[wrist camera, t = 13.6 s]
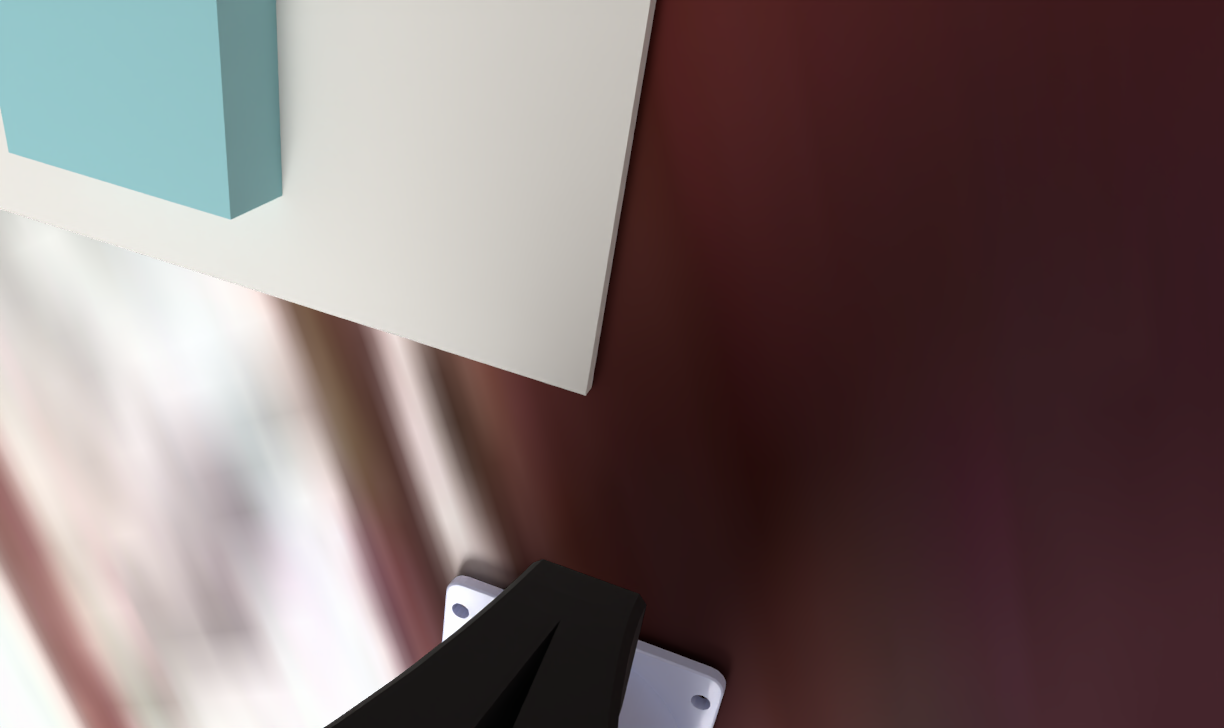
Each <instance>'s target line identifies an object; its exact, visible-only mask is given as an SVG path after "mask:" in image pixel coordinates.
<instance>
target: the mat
mask: <svg viewBox="0 0 1224 728" xmlns="http://www.w3.org/2000/svg"><path fill="white" fill-rule="evenodd" d="M655 5H656V0H276V20H277V49H278V79H279V108H280V138H281V168H282V196H281V197H278V198H276V199H274V200H272V201H270V202H268V203H266V204H263V205H261V206H259V207H257V208H255V209H253V210H251V211H248V212H246V213H244V214H242V215H240V216H238V217H236V218H233V219H231V220H230V219H226V218H223V217H220V216H217V215H213V214H210V213H207V212H203V211H200V210H197V209H193V208H190V207H187V206H184V205H180V204H177V203H174V202H170V201H167V200H164V199H160V198H157V197H154V196H151V195H147V194H144V193H141V192H137V191H134V190H131V189H127V188H124V187H121V186H117V185H114V184H111V183H108V182H104V181H101V180H98V179H94V178H91V177H88V176H84V175H81V174H78V173H75V172H71V171H68V170H65V169H61V168H58V167H55V166H51V165H48V164H45V163H42V162H38V161H35V160H32V159H28V158H25V157H22V156H18V155H15V154H12V153H9V151H8V146H7V140H6V135H5V130H4V125H3V119H2V114H1V109H0V209H1V210H5V211H8V212H11V213H14V214H17V215H20V216H23V217H27V218H30V219H33V220H36V221H39V222H42V223H45V224H49V225H52V226H55V227H58V228H61V229H64V230H67V231H70V232H74V233H77V234H80V235H83V236H86V237H89V238H92V239H96V240H99V241H102V242H105V243H108V244H111V245H114V246H118V247H121V248H124V249H127V250H130V251H133V252H136V253H139V254H143V255H146V256H149V257H152V258H155V259H158V260H161V261H165V262H168V263H171V264H174V265H177V266H180V267H183V268H187V269H190V270H193V271H196V272H199V273H202V274H205V275H209V276H212V277H215V278H218V279H221V280H224V281H227V282H230V283H234V284H237V285H240V286H243V287H246V288H249V289H252V290H256V291H259V292H262V293H265V294H268V295H271V296H274V297H278V298H281V299H284V300H287V301H290V302H293V303H296V304H299V305H303V306H306V307H309V308H312V309H315V310H318V311H321V312H325V313H328V314H331V315H334V316H337V317H340V318H343V319H347V320H350V321H353V322H356V323H359V324H362V325H365V326H369V327H372V328H375V329H378V330H381V331H384V332H387V333H390V334H394V335H397V336H400V337H403V338H406V339H409V340H412V341H416V342H419V343H422V344H425V345H428V346H431V347H434V348H438V349H441V350H444V351H447V352H450V353H453V354H456V355H459V356H463V357H466V358H469V359H472V360H475V361H478V362H481V363H485V364H488V365H491V366H494V367H497V368H500V369H503V370H507V371H510V372H513V373H516V374H519V375H522V376H525V377H528V378H532V379H535V380H538V381H541V382H544V383H547V384H550V385H554V386H557V387H560V388H563V389H566V390H569V391H572V392H576V393H579V394H582V395H585V396H586V395H587V393H588V392H589V390H590V389H591V388H592V382H593V376H594V370H595V364H596V358H597V352H598V346H599V340H600V334H601V328H602V322H603V316H604V310H605V304H606V298H607V292H608V286H609V280H610V274H611V268H612V262H613V256H614V250H615V244H616V238H617V232H618V226H619V220H620V214H621V208H622V202H623V196H624V190H625V184H626V178H627V173H628V167H629V161H630V155H631V149H632V143H633V137H634V131H635V125H636V119H637V113H638V107H639V101H640V95H641V89H642V83H643V77H644V71H645V65H646V59H647V53H648V47H649V41H650V35H651V29H652V23H653V17H654V11H655Z"/></svg>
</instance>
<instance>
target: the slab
mask: <svg viewBox="0 0 1224 728" xmlns="http://www.w3.org/2000/svg"><path fill="white" fill-rule="evenodd" d="M0 109H1V114H2V119H3V125H4V130H5V135H6V140H7V146H8V151H9V153H12V154H15V155H18V156H22V157H25V158H28V159H32V160H35V161H38V162H42V163H45V164H48V165H51V166H55V167H58V168H61V169H65V170H68V171H71V172H75V173H78V174H81V175H84V176H88V177H91V178H94V179H98V180H101V181H104V182H108V183H111V184H114V185H117V186H121V187H124V188H127V189H131V190H134V191H137V192H141V193H144V194H147V195H151V196H154V197H157V198H160V199H164V200H167V201H170V202H174V203H177V204H180V205H184V206H187V207H190V208H193V209H197V210H200V211H203V212H207V213H210V214H213V215H217V216H220V217H223V218H226V219H230V220H231V219H233V218H236V217H238V216H240V215H242V214H244V213H246V212H248V211H251V210H253V209H255V208H257V207H259V206H261V205H263V204H266V203H268V202H270V201H272V200H274V199H276V198H278V197H281V196H282V168H281V138H280V108H279V79H278V49H277V20H276V0H0Z"/></svg>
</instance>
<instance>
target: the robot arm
mask: <svg viewBox="0 0 1224 728" xmlns="http://www.w3.org/2000/svg"><path fill="white" fill-rule="evenodd" d="M461 604H462V605H464V606H465V607H466V608H465V607H464V606H462V605H461ZM645 609H646V603H645V602H644V600H643V599H642V597H641V596H640V594H638V593H635V592H632V591H630V590H627V589H624V588H621V587H619V586H616V585H613V584H610V583H608V582H605V581H602V580H599V579H596V578H594V577H591V576H588V575H585V574H583V573H580V572H577V571H574V570H572V569H569V568H566V567H563V566H561V565H558V564H555V563H552V562H550V561H547V560H544V559H542V560H539V561H537V562H534V563H533V564H532V565H530V566H529V567H528V568H527V569H526V570H525V571H524V572H523V573H522V574H521V575H520V576H519V577H518V578H517V579H516V580H515V581H514V582H512V583H511V584H510V585H509V586H508V587H507V588H506V589H505V590H504V589H501V588H498V587H495V586H493V585H490V584H487V583H485V582H482V581H479V580H477V579H474V578H471V577H468V576H463V575H461V576H457V577H455V578H454V579H453V580H452V581H451V583H450V584H449V586H448V588H447V590H446V602H445V614H444V626H443V639H442V643H440V644H439V645H438V646H437V647H435V648H434V649H433V650H431V651H430V652H429V653H428V654H426V655H425V656H424V657H422V658H421V659H420V660H419V661H417V662H416V663H415V664H414V665H412V666H411V667H410V668H408V669H407V670H406V671H404V672H403V673H402V674H400V675H399V676H398V677H396V678H395V679H393V680H392V681H391V682H389V683H388V684H386V685H385V686H383V687H382V688H381V689H379V690H378V691H376V692H375V693H373V694H372V695H371V696H369V697H368V698H366V699H365V700H363V701H362V702H361V703H359V704H358V705H356V706H355V707H353V708H352V709H351V710H349V711H348V712H346V713H345V714H343V715H342V716H341V717H339V718H338V719H336V720H335V721H333V722H332V723H330V724H329V725H327V726H326V727H324V728H713V726H714V723H715V720H716V716H717V713H718V710H719V707H720V704H721V701H722V698H723V695H724V691H725V688H726V681H725V678H724V676H723V675H722V674H721V673H720V672H719V671H718V670H716V669H714V668H712V667H710V666H707V665H705V664H702V663H699V662H697V661H694V660H691V659H689V658H686V657H683V656H681V655H678V654H675V653H673V652H670V651H667V650H664V649H662V648H659V647H656V646H654V645H651V644H648V643H646V642H643V641H640V640H638V638H639V634H640V630H641V626H642V621H643V617H644V613H645ZM698 695H701V696H704V697H706V698H707V699H705V698H701V697H700V696H698Z"/></svg>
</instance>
